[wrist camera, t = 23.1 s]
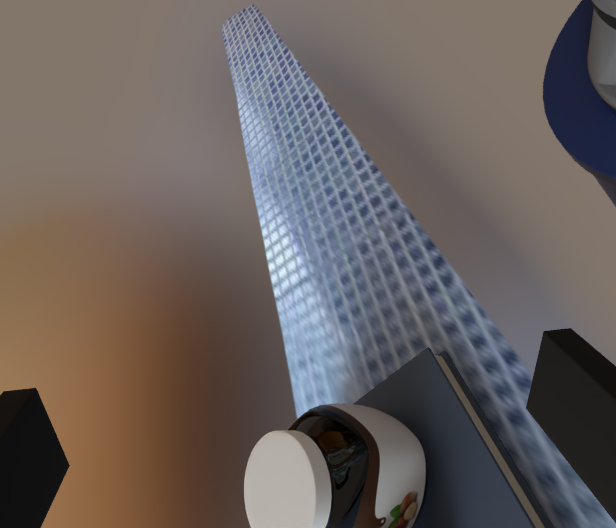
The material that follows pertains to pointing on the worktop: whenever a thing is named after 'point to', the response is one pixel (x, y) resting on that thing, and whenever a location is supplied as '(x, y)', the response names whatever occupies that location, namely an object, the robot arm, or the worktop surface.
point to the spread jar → (337, 472)
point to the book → (456, 449)
